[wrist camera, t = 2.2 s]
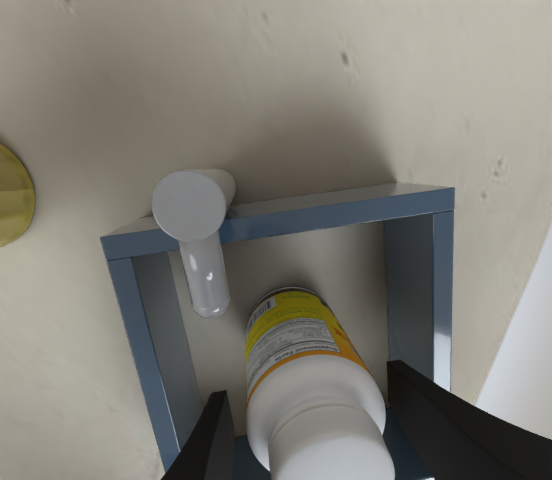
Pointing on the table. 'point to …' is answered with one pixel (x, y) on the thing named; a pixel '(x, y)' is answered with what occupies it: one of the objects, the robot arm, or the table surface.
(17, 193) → the vase
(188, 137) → the table surface
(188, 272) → the open box
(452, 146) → the table surface
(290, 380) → the supplement bottle
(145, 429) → the table surface
